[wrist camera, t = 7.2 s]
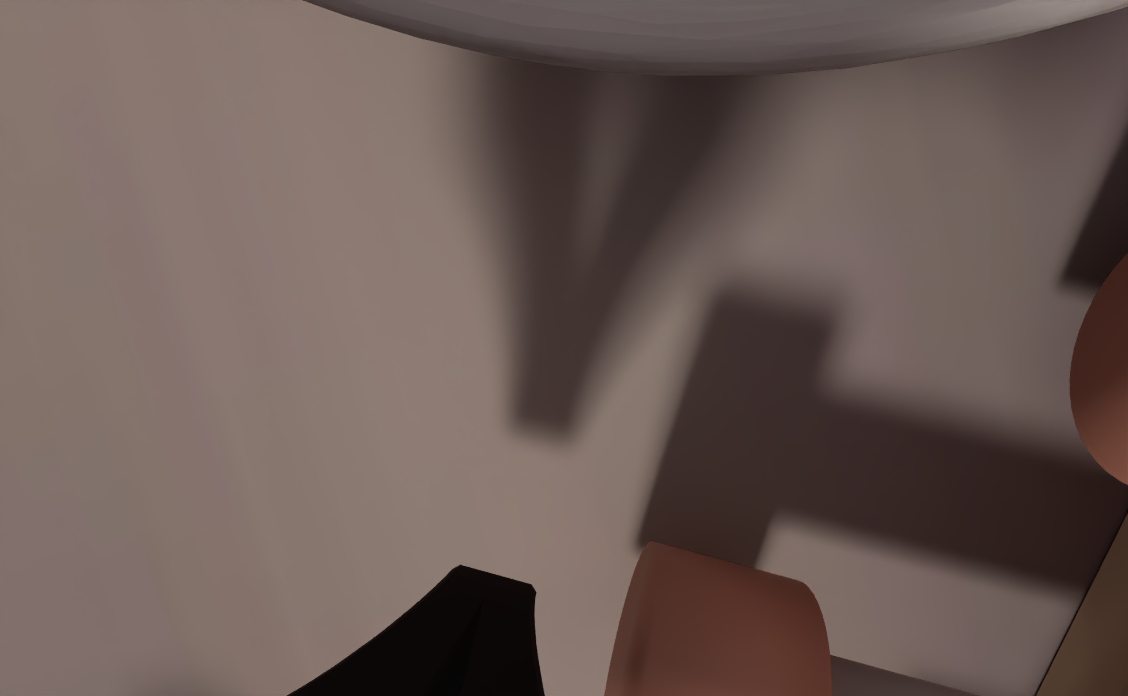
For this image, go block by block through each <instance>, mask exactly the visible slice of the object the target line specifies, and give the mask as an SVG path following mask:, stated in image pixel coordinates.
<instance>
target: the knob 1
mask: <svg viewBox="0 0 1128 696" xmlns="http://www.w3.org/2000/svg"><path fill="white" fill-rule="evenodd" d="M604 696H978V695H975V694H971V693H968V692H964V691H960V690H957V689H953V688H949V687H946V686H942V685H938V684H935V683H931V682H928V681H924V680H920V679H917V678H913V677H909V676H906V675H902V674H898V673H895V672H891V671H888V670H884V669H880V668H877V667H873V666H869V665H866V664H862V663H858V662H855V661H851V660H848V659H844V658H840V657H837V656H833V655H830V651H829V643H828V637H827V632H826V627H825V623H824V619H823V615H822V612H821V610H820V607H819V604H818V602H817V600H816V598H815V596H814V594H813V593H812V591H811V590H810V589H809V587H808V586H807V585H805V584H804V583H803V582H801V581H798V580H795V579H791V578H787V577H784V576H780V575H776V574H772V573H769V572H765V571H761V570H758V569H754V568H750V567H746V566H743V565H739V564H735V563H732V562H728V561H724V560H720V559H717V558H713V557H709V556H706V555H702V554H698V553H694V552H691V551H687V550H683V549H680V548H676V547H672V546H668V545H665V544H661V543H657V542H654V541H650V542H648V544H647V545H646V546H645V548H644V549H643V551H642V553H641V555H640V558H639V560H638V562H637V565H636V568H635V571H634V573H633V576H632V579H631V582H630V586H629V589H628V592H627V596H626V599H625V603H624V607H623V610H622V614H621V618H620V622H619V626H618V630H617V635H616V639H615V643H614V648H613V653H612V657H611V662H610V667H609V672H608V678H607V683H606V689H605V694H604Z"/></svg>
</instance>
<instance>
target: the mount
mask: <svg viewBox="0 0 1128 696" xmlns="http://www.w3.org/2000/svg"><path fill="white" fill-rule="evenodd" d="M1036 696H1128V514H1127V516H1126V518H1125V520H1124V522H1123V524H1122V526H1121V528H1120V529H1119V531H1118V533H1117V535H1116V537H1115V539H1114V541H1113V543H1112V545H1111V547H1110V549H1109V551H1108V553H1107V555H1106V557H1105V559H1104V561H1103V563H1102V565H1101V567H1100V569H1099V571H1098V573H1097V575H1096V577H1095V579H1094V581H1093V583H1092V585H1091V587H1090V589H1089V591H1088V593H1087V595H1086V597H1085V599H1084V601H1083V603H1082V605H1081V607H1080V609H1079V611H1078V613H1077V615H1076V617H1075V619H1074V621H1073V623H1072V625H1071V627H1070V629H1069V631H1068V633H1067V635H1066V637H1065V639H1064V641H1063V643H1062V645H1061V647H1060V649H1059V651H1058V653H1057V655H1056V657H1055V659H1054V661H1053V663H1052V665H1051V667H1050V669H1049V671H1048V673H1047V675H1046V677H1045V679H1044V681H1043V683H1042V685H1041V687H1040V689H1039V691H1038V693H1037V695H1036Z"/></svg>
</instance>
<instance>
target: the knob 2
mask: <svg viewBox="0 0 1128 696" xmlns="http://www.w3.org/2000/svg"><path fill="white" fill-rule="evenodd" d="M1070 400H1071V408H1072V413H1073V417H1074V421H1075V424H1076V427H1077V430H1078V432H1079V435H1080V437H1081V439H1082V441H1083V443H1084V445H1085V446H1086V448H1087V450H1088V451H1089V453H1090V454H1091V455H1092V457H1093V458H1094V459H1095V460H1096V462H1097V463H1098V464H1099V465H1100V466H1101V467H1102V468H1103V469H1104V470H1105V471H1107V472H1108V473H1109V474H1111V475H1112V476H1113V477H1115V478H1116V479H1118V480H1119V481H1121V482H1123V483H1125V484H1127V485H1128V253H1127V254H1126V255H1125V256H1124V257H1123V258H1122V260H1121V261H1120V262H1119V263H1118V264H1117V266H1116V267H1115V268H1114V269H1113V270H1112V272H1111V273H1110V274H1109V276H1108V277H1107V279H1106V280H1105V281H1104V283H1103V284H1102V286H1101V287H1100V289H1099V291H1098V292H1097V294H1096V296H1095V297H1094V299H1093V301H1092V303H1091V305H1090V307H1089V309H1088V311H1087V313H1086V315H1085V317H1084V320H1083V323H1082V325H1081V328H1080V330H1079V333H1078V337H1077V340H1076V343H1075V347H1074V352H1073V357H1072V362H1071V371H1070Z"/></svg>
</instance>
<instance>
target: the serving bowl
mask: <svg viewBox="0 0 1128 696" xmlns="http://www.w3.org/2000/svg"><path fill="white" fill-rule="evenodd" d="M303 1H306V2H309V3H312V4H314V5H317V6H320V7H323V8H326V9H328V10H331V11H334V12H337V13H340V14H342V15H345V16H348V17H352V18H355V19H358V20H361V21H365V22H368V23H371V24H375V25H378V26H381V27H385V28H388V29H391V30H394V31H398V32H401V33H404V34H408V35H411V36H414V37H418V38H421V39H426V40H430V41H434V42H438V43H443V44H447V45H451V46H456V47H460V48H464V49H468V50H473V51H477V52H481V53H486V54H490V55H495V56H501V57H507V58H513V59H519V60H525V61H531V62H537V63H543V64H549V65H557V66H565V67H573V68H581V69H589V70H597V71H605V72H618V73H631V74H643V75H656V76H735V75H768V74H781V73H793V72H806V71H818V70H831V69H843V68H852V67H858V66H864V65H870V64H876V63H882V62H888V61H894V60H900V59H906V58H912V57H918V56H925V55H931V54H937V53H943V52H949V51H955V50H960V49H964V48H969V47H974V46H978V45H983V44H988V43H992V42H997V41H1002V40H1006V39H1011V38H1016V37H1020V36H1023V35H1027V34H1031V33H1034V32H1038V31H1042V30H1045V29H1049V28H1053V27H1056V26H1060V25H1064V24H1068V23H1071V22H1075V21H1079V20H1082V19H1086V18H1090V17H1093V16H1097V15H1101V14H1104V13H1108V12H1112V11H1115V10H1119V9H1122V8H1125V7H1128V0H303Z"/></svg>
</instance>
